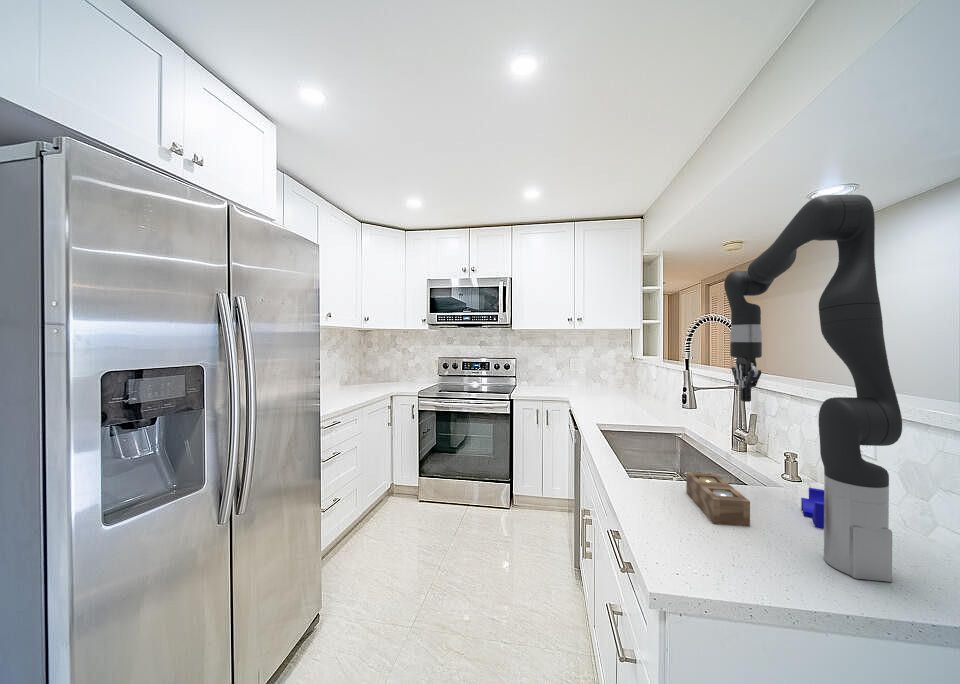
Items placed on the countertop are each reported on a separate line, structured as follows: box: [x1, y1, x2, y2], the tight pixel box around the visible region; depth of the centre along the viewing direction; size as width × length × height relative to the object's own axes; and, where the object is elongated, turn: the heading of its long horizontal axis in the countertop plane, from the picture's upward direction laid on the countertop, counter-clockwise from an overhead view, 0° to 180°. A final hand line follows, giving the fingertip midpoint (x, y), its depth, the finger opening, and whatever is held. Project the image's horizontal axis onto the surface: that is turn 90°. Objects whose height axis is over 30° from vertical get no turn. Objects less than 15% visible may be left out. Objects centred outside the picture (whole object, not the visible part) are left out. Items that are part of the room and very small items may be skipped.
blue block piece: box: [800, 487, 824, 530], centre depth 99 cm, size 12×4×6 cm, turn 146°
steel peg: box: [713, 490, 733, 497], centre depth 101 cm, size 4×4×6 cm
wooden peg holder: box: [685, 471, 751, 528], centre depth 105 cm, size 20×8×6 cm, turn 170°
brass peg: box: [699, 477, 717, 482], centre depth 110 cm, size 4×4×6 cm
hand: (745, 401), depth 114 cm, fingers closed
